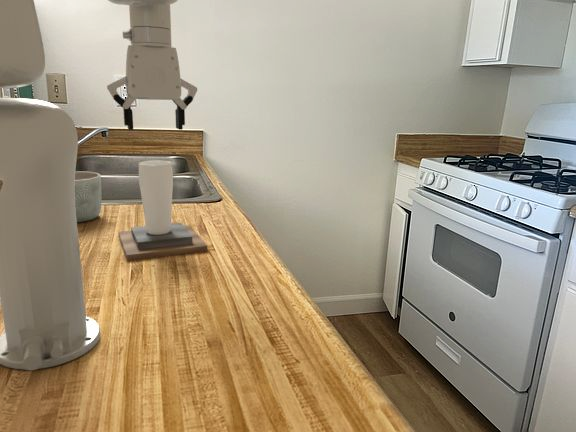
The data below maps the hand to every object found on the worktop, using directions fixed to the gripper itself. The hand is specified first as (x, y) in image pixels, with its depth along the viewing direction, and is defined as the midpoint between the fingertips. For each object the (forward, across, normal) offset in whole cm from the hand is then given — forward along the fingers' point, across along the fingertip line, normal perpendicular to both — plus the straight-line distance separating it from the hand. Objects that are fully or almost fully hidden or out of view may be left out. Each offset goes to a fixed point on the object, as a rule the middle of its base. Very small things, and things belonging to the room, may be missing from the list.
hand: (155, 129), depth 97 cm
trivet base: (+24, 0, 0) cm, 25 cm away
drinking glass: (+22, 0, 0) cm, 22 cm away
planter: (+25, -16, +28) cm, 40 cm away
